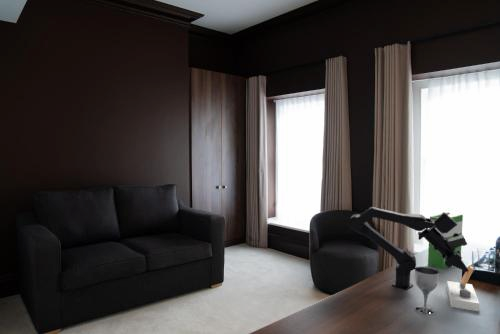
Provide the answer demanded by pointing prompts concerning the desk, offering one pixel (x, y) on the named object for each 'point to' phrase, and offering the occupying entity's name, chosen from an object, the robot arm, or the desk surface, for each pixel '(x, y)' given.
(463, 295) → the push button
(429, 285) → the wine glass
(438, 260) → the cereal box
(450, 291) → the switch panel
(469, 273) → the paddle lever
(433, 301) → the desk surface
